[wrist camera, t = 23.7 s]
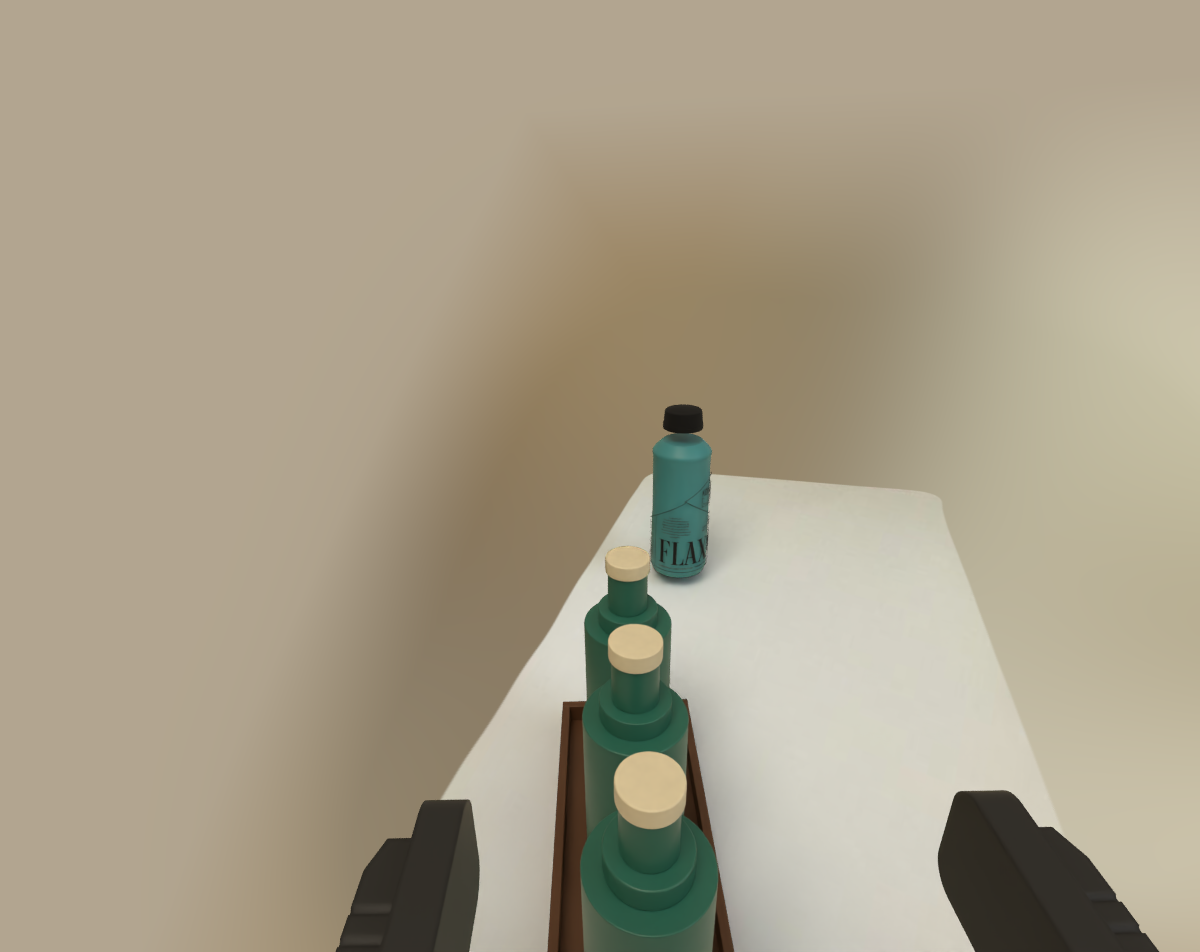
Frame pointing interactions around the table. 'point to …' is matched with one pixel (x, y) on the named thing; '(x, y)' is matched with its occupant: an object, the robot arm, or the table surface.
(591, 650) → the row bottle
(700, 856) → the green bottle
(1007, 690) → the table surface
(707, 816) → the tray
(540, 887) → the table surface
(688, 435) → the beverage bottle
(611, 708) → the row bottle middle
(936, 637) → the table surface
